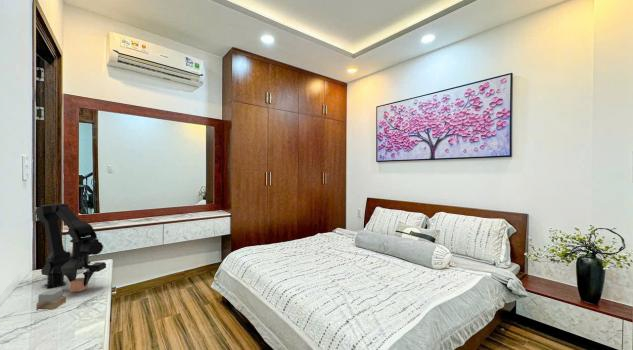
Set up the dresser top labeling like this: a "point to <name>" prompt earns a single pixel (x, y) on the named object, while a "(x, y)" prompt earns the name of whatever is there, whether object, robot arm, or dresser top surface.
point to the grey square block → (50, 295)
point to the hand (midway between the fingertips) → (79, 286)
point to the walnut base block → (51, 304)
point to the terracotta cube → (77, 285)
